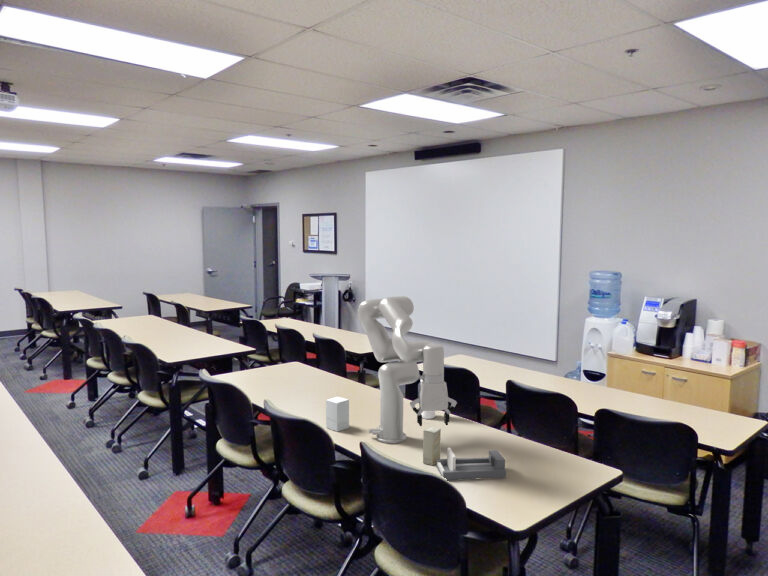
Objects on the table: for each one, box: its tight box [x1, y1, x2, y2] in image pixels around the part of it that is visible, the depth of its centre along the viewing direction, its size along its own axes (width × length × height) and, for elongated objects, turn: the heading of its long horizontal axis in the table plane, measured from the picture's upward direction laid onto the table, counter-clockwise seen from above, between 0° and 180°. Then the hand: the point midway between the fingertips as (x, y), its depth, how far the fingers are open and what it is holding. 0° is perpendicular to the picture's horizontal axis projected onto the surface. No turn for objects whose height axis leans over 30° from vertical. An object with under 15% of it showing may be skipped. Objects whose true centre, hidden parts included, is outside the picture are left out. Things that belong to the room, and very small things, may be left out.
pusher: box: [446, 447, 492, 471], centre depth 182 cm, size 15×8×6 cm, turn 96°
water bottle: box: [419, 379, 436, 420], centre depth 239 cm, size 7×7×25 cm
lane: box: [436, 449, 507, 481], centre depth 182 cm, size 22×11×6 cm, turn 96°
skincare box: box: [422, 426, 442, 466], centre depth 190 cm, size 6×4×12 cm
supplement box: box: [325, 396, 350, 432], centre depth 224 cm, size 7×7×13 cm
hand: (433, 424), depth 189 cm, fingers open, 9 cm apart
